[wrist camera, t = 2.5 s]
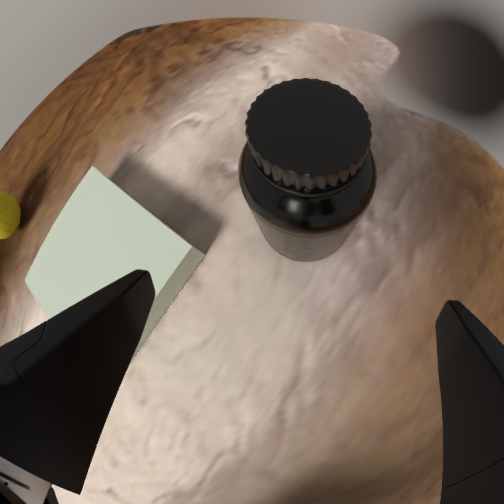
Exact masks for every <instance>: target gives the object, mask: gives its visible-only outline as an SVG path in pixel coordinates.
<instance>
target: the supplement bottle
mask: <svg viewBox="0 0 504 504" xmlns="http://www.w3.org/2000/svg"><path fill="white" fill-rule="evenodd" d="M245 126H246V132H245V134H246V137H247V141H246V143H245V145H244V147H243V149H242V152H241V155H240V159H239V165H238V176H239V183H240V186H241V190H242V193H243V195H244V198H245V200H246V202H247V204H248V206H249V208H250V210H251V212H252V214H253V216H254V218H255V220H256V222H257V224H258V226H259V228H260V230H261V232H262V233H263V235H264V237H265V239H266V240H267V242H268V243H269V244H270V246H271V247H272V248H273V249H274V250H275V251H277V252H278V253H279V254H281V255H283V256H284V257H286V258H289V259H291V260H295V261H300V262H313V261H318V260H321V259H324V258H326V257H328V256H330V255H332V254H333V253H335V252H336V251H337V250H338V249H339V248H340V247H341V246H342V245H343V244H344V242H345V241H346V240H347V238H348V237H349V235H350V234H351V232H352V231H353V229H354V228H355V226H356V224H357V223H358V221H359V220H360V218H361V217H362V215H363V214H364V212H365V210H366V209H367V207H368V205H369V203H370V201H371V199H372V196H373V194H374V191H375V187H376V180H377V171H376V164H375V160H374V156H373V153H372V151H371V149H370V140H371V137H372V132H371V122H370V120H369V119H368V113H367V112H366V111H365V110H364V106H363V105H362V104H361V103H360V102H359V101H358V99H357V98H356V97H355V96H353V95H351V94H350V92H349V91H348V90H345V89H343V88H341V87H340V86H339V85H336V84H332V83H330V82H329V81H322V80H319V79H309V78H303V79H292V80H290V81H283V82H281V83H280V84H275V85H273V86H272V87H271V88H269V89H266V90H264V91H263V93H262V94H260V95H259V96H257V98H256V101H254V102H253V103H252V104H251V109H250V110H249V111H248V112H247V119H246V121H245Z"/></svg>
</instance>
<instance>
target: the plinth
mask: <svg viewBox="0 0 504 504" xmlns="http://www.w3.org/2000/svg"><path fill="white" fill-rule="evenodd" d="M204 257H205V254H204V253H202V252H201V251H200V250H198V249H197V248H196V247H195V246H193V245H192V244H191V243H189V242H188V241H187V240H185V239H184V238H183V237H182V236H180V235H179V234H178V233H176V232H175V231H174V230H173V229H171V228H170V227H169V226H168V225H166V224H165V223H164V222H162V221H161V220H160V219H159V218H157V217H156V216H155V215H154V214H152V213H151V212H150V211H149V210H147V209H146V208H145V207H144V206H142V205H141V204H140V203H139V202H137V201H136V200H135V199H134V198H132V197H131V196H130V195H129V194H127V193H126V192H125V191H124V190H123V189H121V188H120V187H119V186H118V185H116V184H115V183H114V182H113V181H112V180H110V179H109V178H108V177H106V176H105V175H104V174H102V173H101V172H100V171H98V170H97V169H96V168H94V167H93V166H92V167H91V168H90V170H89V171H88V173H87V174H86V175H85V177H84V178H83V180H82V181H81V182H80V184H79V185H78V187H77V188H76V190H75V191H74V193H73V194H72V196H71V197H70V199H69V200H68V202H67V203H66V205H65V207H64V208H63V210H62V211H61V213H60V215H59V216H58V218H57V220H56V221H55V223H54V225H53V226H52V228H51V230H50V232H49V234H48V235H47V237H46V239H45V241H44V243H43V244H42V246H41V248H40V250H39V252H38V254H37V256H36V258H35V260H34V262H33V264H32V266H31V268H30V270H29V272H28V274H27V277H26V279H25V282H26V284H27V286H28V287H29V289H30V291H31V292H32V294H33V296H34V297H35V299H36V301H37V302H38V304H39V305H40V307H41V309H42V310H43V312H44V313H45V315H46V316H47V318H48V319H50V318H52V317H53V316H55V315H57V314H58V313H60V312H62V311H63V310H65V309H67V308H69V307H70V306H72V305H74V304H75V303H77V302H79V301H81V300H82V299H84V298H86V297H87V296H89V295H91V294H93V293H94V292H96V291H98V290H100V289H102V288H103V287H105V286H107V285H109V284H110V283H112V282H114V281H116V280H118V279H119V278H121V277H123V276H125V275H127V274H128V273H130V272H132V271H134V270H136V269H142V270H147V271H149V272H150V274H151V277H152V281H153V284H154V288H155V299H154V302H153V305H152V308H151V310H150V313H149V316H148V319H147V322H146V325H145V328H144V331H143V334H142V337H141V339H140V341H139V344H138V346H137V348H136V350H135V353H134V355H133V357H134V356H135V354H136V353H137V352H138V350H139V349H140V347H141V346H142V344H143V343H144V341H145V340H146V338H147V337H148V335H149V334H150V332H151V331H152V330H153V328H154V327H155V325H156V324H157V322H158V321H159V319H160V318H161V317H162V315H163V314H164V312H165V311H166V310H167V308H168V307H169V305H170V304H171V302H172V301H173V300H174V298H175V297H176V295H177V294H178V293H179V291H180V290H181V288H182V287H183V286H184V284H185V283H186V281H187V280H188V279H189V277H190V276H191V275H192V273H193V272H194V270H195V269H196V268H197V266H198V265H199V264H200V262H201V261H202V259H203V258H204ZM133 357H132V359H133ZM132 359H131V360H132Z"/></svg>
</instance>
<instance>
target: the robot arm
mask: <svg viewBox="0 0 504 504" xmlns="http://www.w3.org/2000/svg"><path fill="white" fill-rule="evenodd" d="M154 299H155V288H154V284H153V281H152V277H151V274H150V272H149V271H147V270H142V269H136V270H134V271H132V272H130V273H128V274H127V275H125V276H123V277H121V278H119V279H118V280H116V281H114V282H112V283H110V284H109V285H107V286H105V287H103V288H102V289H100V290H98V291H96V292H94V293H93V294H91V295H89V296H87V297H86V298H84V299H82V300H81V301H79V302H77V303H75V304H74V305H72V306H70V307H69V308H67V309H65V310H63V311H62V312H60V313H58V314H57V315H55V316H53V317H52V318H50V319H48V320H47V321H45V322H43V323H42V324H40V325H38V326H37V327H35V328H33V329H32V330H30V331H28V332H27V333H25V334H23V335H21V336H19V337H18V338H16V339H14V340H12V341H10V342H8V343H6V344H4V345H3V346H1V347H0V504H59V503H58V501H57V498H56V495H55V492H54V489H53V488H52V487H51V486H52V484H54V485H56V486H59V487H61V488H63V489H66V490H68V491H71V492H73V493H76V494H79V495H80V493H81V491H82V488H83V485H84V482H85V479H86V475H87V472H88V469H89V467H90V464H91V461H92V458H93V455H94V452H95V449H96V447H97V446H96V445H97V443H98V441H99V438H100V435H101V433H102V430H103V427H104V425H105V422H106V420H107V417H108V414H109V412H110V409H111V407H112V404H113V402H114V399H115V397H116V395H117V392H118V390H119V387H120V385H121V383H122V380H123V378H124V375H125V373H126V371H127V369H128V366H129V364H130V362H131V359H132V357H133V355H134V353H135V350H136V348H137V346H138V344H139V341H140V339H141V337H142V334H143V331H144V328H145V325H146V322H147V319H148V316H149V313H150V310H151V308H152V305H153V302H154ZM435 328H436V340H437V357H438V373H439V382H440V392H441V403H442V418H443V477H442V490H441V500H440V504H504V345H503V344H502V343H501V342H500V341H499V340H498V339H497V338H496V337H495V336H494V335H493V334H492V333H491V332H490V330H489V329H488V328H487V327H486V326H485V325H484V324H483V323H482V322H481V321H480V320H479V319H477V318H476V317H475V316H474V315H473V314H472V313H471V312H470V311H469V310H468V309H467V308H466V307H465V306H464V305H463V304H462V303H461V302H460V301H456V300H448V301H447V302H446V303H445V304H444V306H443V308H442V310H441V312H440V314H439V316H438V318H437V320H436V326H435Z"/></svg>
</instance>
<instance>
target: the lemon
mask: <svg viewBox="0 0 504 504" xmlns="http://www.w3.org/2000/svg"><path fill="white" fill-rule="evenodd" d="M20 214H21V211H20V206H19V204H18V202H17V200H16V199H15V198H14V197H13V196H12V195H10V194H8V193H6V192H4V191H0V239H6V238H8V237H10V236H11V235H12V234H13V233H14V232H15V230H16V229H17V227H18V226H19V224H20Z"/></svg>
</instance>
